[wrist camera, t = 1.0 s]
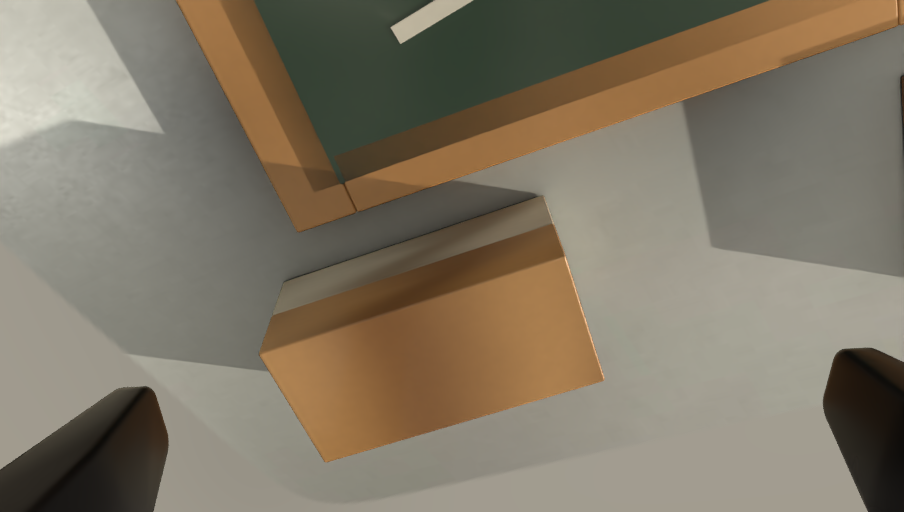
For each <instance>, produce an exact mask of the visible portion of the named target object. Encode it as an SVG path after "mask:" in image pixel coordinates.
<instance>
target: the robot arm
mask: <svg viewBox="0 0 904 512" xmlns="http://www.w3.org/2000/svg"><path fill="white" fill-rule="evenodd" d="M823 409H824V413H825V416H826V419H827V421H828V423H829V426H830V428H831V430H832V432H833V435H834V437H835V439H836V441H837V444H838V446H839V448H840V450H841V453H842V455H843V457H844V459H845V461H846V464H847V466H848V468H849V471H850V473H851V475H852V477H853V480H854V482H855V484H856V486H857V489H858V491H859V493H860V495H861V498H862V500H863V502H864V504H865V506H866V508H867V510H868V512H904V362H902V361H900V360H898V359H896V358H893V357H891V356H889V355H887V354H885V353H883V352H881V351H879V350H876V349H874V348H850V349H842V350H840V351H839V352H837V354H836V355H835V357H834V359H833V363H832V367H831V370H830V374H829V378H828V382H827V385H826V389H825V393H824V397H823ZM167 453H168V433H167V430H166V426H165V423H164V420H163V417H162V414H161V410H160V407H159V404H158V401H157V398H156V395H155V393H154V391H153V390H152V389H151V388H149V387H147V386H143V387H123V388H118V389H116V390H114V391H113V392H112V393H110V394H109V395H107V396H106V397H104V398H103V399H101V400H100V401H98V402H97V403H96V404H94V405H93V406H91V407H90V408H89V409H87V410H85V411H84V412H83V413H81V414H80V415H78V416H77V417H76V418H74V419H73V420H71V421H70V422H69V423H67V424H65V425H64V426H62V427H61V428H60V429H58V430H57V431H55V432H54V433H52V434H51V435H50V436H48V437H47V438H45V439H44V440H42V441H41V442H40V443H38V444H37V445H35V446H34V447H32V448H31V449H29V450H28V451H27V452H25V453H24V454H22V455H21V456H19V457H18V458H16V459H15V460H14V461H12V462H11V463H9V464H8V465H6V466H5V467H3V468H2V469H1V470H0V512H153V511H154V506H155V503H156V498H157V494H158V490H159V486H160V482H161V477H162V474H163V469H164V465H165V461H166V457H167Z"/></svg>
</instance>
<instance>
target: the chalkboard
mask: <svg viewBox="0 0 904 512" xmlns="http://www.w3.org/2000/svg"><path fill="white" fill-rule="evenodd" d="M176 2H177V4H178V5H179V7H180V9H181V11H182V13H183V15H184V17H185V19H186V21H187V23H188V25H189V26H190V28H191V30H192V32H193V34H194V36H195V38H196V40H197V42H198V44H199V46H200V47H201V49H202V51H203V53H204V55H205V57H206V59H207V61H208V63H209V65H210V67H211V68H212V70H213V72H214V74H215V76H216V78H217V80H218V82H219V84H220V86H221V88H222V89H223V91H224V93H225V95H226V97H227V99H228V101H229V103H230V105H231V107H232V109H233V110H234V112H235V114H236V116H237V118H238V120H239V122H240V124H241V126H242V128H243V130H244V131H245V133H246V135H247V137H248V139H249V141H250V143H251V145H252V147H253V149H254V151H255V152H256V154H257V156H258V158H259V160H260V162H261V164H262V166H263V168H264V170H265V172H266V173H267V175H268V177H269V179H270V181H271V183H272V185H273V187H274V189H275V191H276V192H277V194H278V196H279V198H280V200H281V202H282V204H283V206H284V208H285V210H286V212H287V213H288V215H289V217H290V219H291V221H292V223H293V225H294V227H295V229H296V231H297V232H302V231H305V230H308V229H311V228H314V227H317V226H319V225H322V224H325V223H328V222H331V221H334V220H337V219H340V218H343V217H346V216H348V215H351V214H354V213H356V212H357V211H358V212H360V211H363V210H366V209H369V208H372V207H375V206H378V205H381V204H384V203H386V202H389V201H392V200H395V199H398V198H401V197H404V196H407V195H410V194H413V193H415V192H418V191H421V190H424V189H427V188H430V187H433V186H436V185H439V184H442V183H444V182H447V181H450V180H453V179H456V178H459V177H462V176H465V175H468V174H471V173H473V172H476V171H479V170H482V169H485V168H488V167H491V166H494V165H497V164H500V163H502V162H505V161H508V160H511V159H514V158H517V157H520V156H523V155H526V154H529V153H531V152H534V151H537V150H540V149H543V148H546V147H549V146H552V145H555V144H558V143H561V142H563V141H566V140H569V139H572V138H575V137H578V136H581V135H584V134H587V133H590V132H592V131H595V130H598V129H601V128H604V127H607V126H610V125H613V124H616V123H619V122H621V121H624V120H627V119H630V118H633V117H636V116H639V115H642V114H645V113H648V112H650V111H653V110H656V109H659V108H662V107H665V106H668V105H671V104H674V103H677V102H679V101H682V100H685V99H688V98H691V97H694V96H697V95H700V94H703V93H706V92H709V91H711V90H714V89H717V88H720V87H723V86H726V85H729V84H732V83H735V82H738V81H740V80H743V79H746V78H749V77H752V76H755V75H758V74H761V73H764V72H767V71H769V70H772V69H775V68H778V67H781V66H784V65H787V64H790V63H793V62H796V61H798V60H801V59H804V58H807V57H810V56H813V55H816V54H819V53H822V52H825V51H827V50H830V49H833V48H836V47H839V46H842V45H845V44H848V43H851V42H854V41H856V40H859V39H862V38H865V37H868V36H871V35H874V34H877V33H880V32H883V31H886V30H888V29H891V28H894V27H897V26H898V25H903V24H904V0H176Z"/></svg>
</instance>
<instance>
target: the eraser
mask: <svg viewBox="0 0 904 512" xmlns="http://www.w3.org/2000/svg"><path fill="white" fill-rule="evenodd" d="M259 356H260V357H261V359H262V361H263V362H264V364H265V366H266V367H267V369H268V370H269V372H270V374H271V375H272V377H273V379H274V380H275V382H276V384H277V385H278V387H279V388H280V390H281V392H282V393H283V395H284V397H285V398H286V400H287V401H288V403H289V405H290V406H291V408H292V410H293V411H294V413H295V414H296V416H297V418H298V419H299V421H300V423H301V424H302V426H303V428H304V429H305V431H306V432H307V434H308V436H309V437H310V439H311V441H312V442H313V444H314V445H315V447H316V449H317V450H318V452H319V454H320V455H321V457H322V459H323V460H324V462H329V461H333V460H336V459H340V458H343V457H346V456H350V455H353V454H357V453H360V452H363V451H367V450H370V449H374V448H377V447H380V446H384V445H387V444H391V443H394V442H397V441H401V440H404V439H408V438H411V437H414V436H418V435H421V434H425V433H428V432H431V431H435V430H438V429H442V428H445V427H448V426H452V425H455V424H459V423H462V422H465V421H469V420H472V419H476V418H479V417H482V416H486V415H489V414H493V413H496V412H499V411H503V410H506V409H510V408H513V407H516V406H520V405H523V404H527V403H530V402H533V401H537V400H540V399H544V398H547V397H550V396H554V395H557V394H561V393H564V392H567V391H571V390H574V389H578V388H581V387H584V386H588V385H591V384H595V383H598V382H601V381H604V379H605V378H604V375H603V372H602V368H601V365H600V362H599V359H598V356H597V353H596V350H595V346H594V343H593V340H592V337H591V334H590V331H589V328H588V324H587V321H586V318H585V315H584V312H583V309H582V306H581V303H580V299H579V296H578V293H577V290H576V287H575V284H574V281H573V277H572V274H571V271H570V268H569V265H568V262H567V259H566V256H565V253H564V250H563V247H562V245H561V242H560V239H559V236H558V233H557V231H556V228H555V225H554V222H553V220H552V217H551V214H550V211H549V209H548V206H547V203H546V200H545V197H544V196H539V197H536V198H533V199H530V200H527V201H524V202H521V203H518V204H515V205H512V206H509V207H507V208H504V209H501V210H498V211H495V212H492V213H489V214H486V215H483V216H480V217H477V218H474V219H471V220H468V221H465V222H462V223H459V224H456V225H453V226H450V227H447V228H444V229H441V230H438V231H435V232H432V233H429V234H426V235H423V236H420V237H417V238H414V239H411V240H408V241H405V242H402V243H399V244H396V245H393V246H390V247H387V248H384V249H381V250H378V251H375V252H372V253H369V254H366V255H363V256H360V257H357V258H354V259H351V260H348V261H345V262H342V263H339V264H336V265H333V266H330V267H327V268H325V269H322V270H319V271H316V272H313V273H310V274H307V275H304V276H301V277H298V278H295V279H292V280H289V281H286V282H284V283H283V286H282V289H281V291H280V294H279V297H278V300H277V303H276V306H275V309H274V311H273V316H272V317H271V320H270V323H269V326H268V329H267V332H266V334H265V337H264V340H263V343H262V346H261V349H260V352H259Z"/></svg>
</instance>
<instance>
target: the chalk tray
mask: <svg viewBox="0 0 904 512" xmlns="http://www.w3.org/2000/svg"><path fill="white" fill-rule="evenodd" d="M901 81H902V104H903V126H904V76H903V77H902V78H901Z"/></svg>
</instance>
